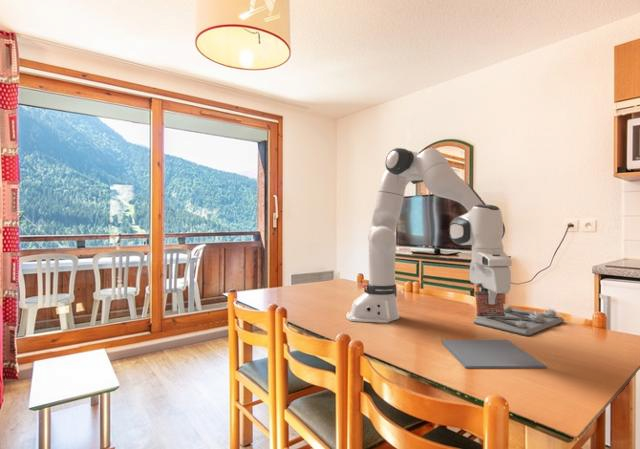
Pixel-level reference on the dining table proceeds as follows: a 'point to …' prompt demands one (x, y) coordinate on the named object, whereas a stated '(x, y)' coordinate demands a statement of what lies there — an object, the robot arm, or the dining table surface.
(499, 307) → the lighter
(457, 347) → the mat
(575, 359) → the dining table surface
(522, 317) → the grey spiked board
